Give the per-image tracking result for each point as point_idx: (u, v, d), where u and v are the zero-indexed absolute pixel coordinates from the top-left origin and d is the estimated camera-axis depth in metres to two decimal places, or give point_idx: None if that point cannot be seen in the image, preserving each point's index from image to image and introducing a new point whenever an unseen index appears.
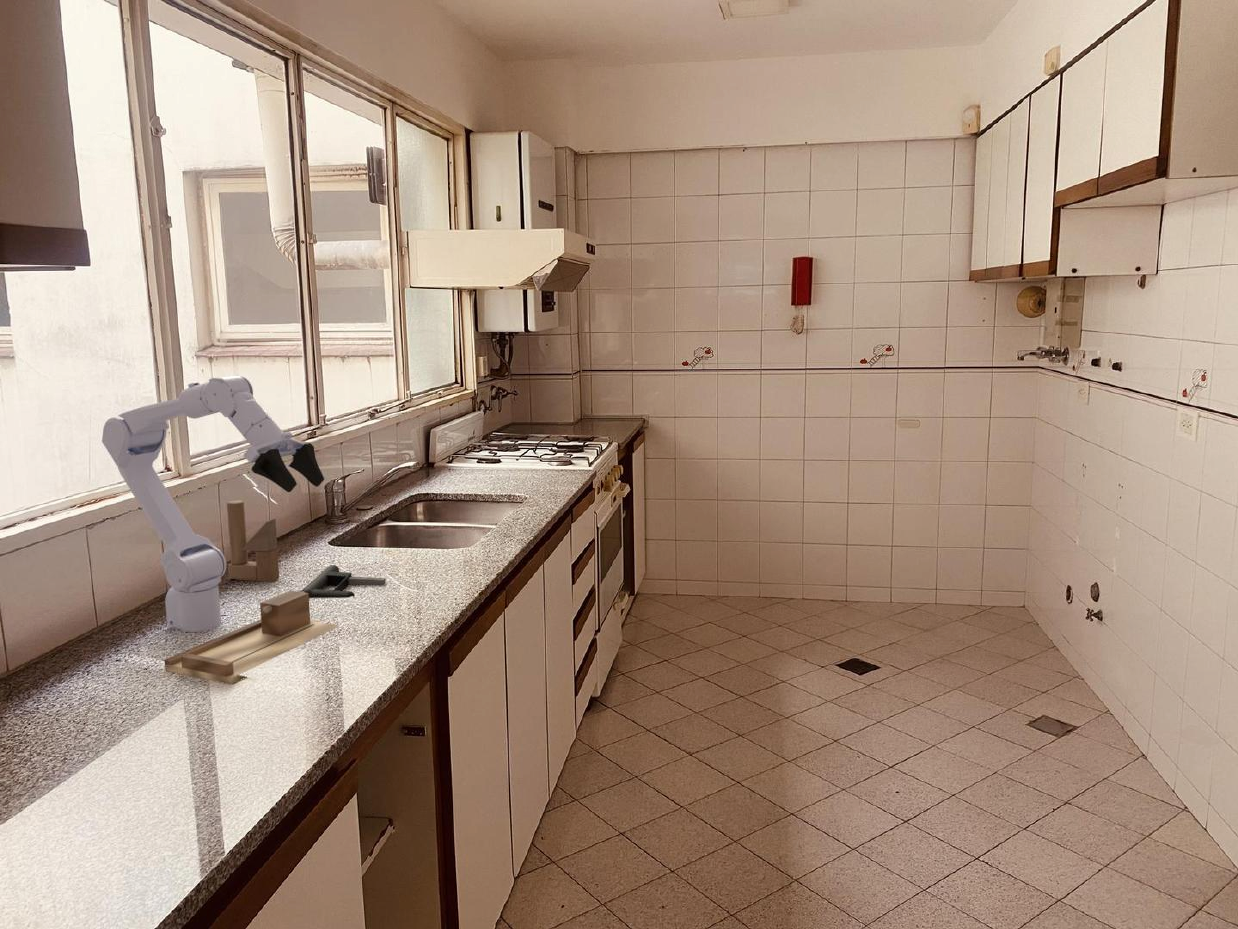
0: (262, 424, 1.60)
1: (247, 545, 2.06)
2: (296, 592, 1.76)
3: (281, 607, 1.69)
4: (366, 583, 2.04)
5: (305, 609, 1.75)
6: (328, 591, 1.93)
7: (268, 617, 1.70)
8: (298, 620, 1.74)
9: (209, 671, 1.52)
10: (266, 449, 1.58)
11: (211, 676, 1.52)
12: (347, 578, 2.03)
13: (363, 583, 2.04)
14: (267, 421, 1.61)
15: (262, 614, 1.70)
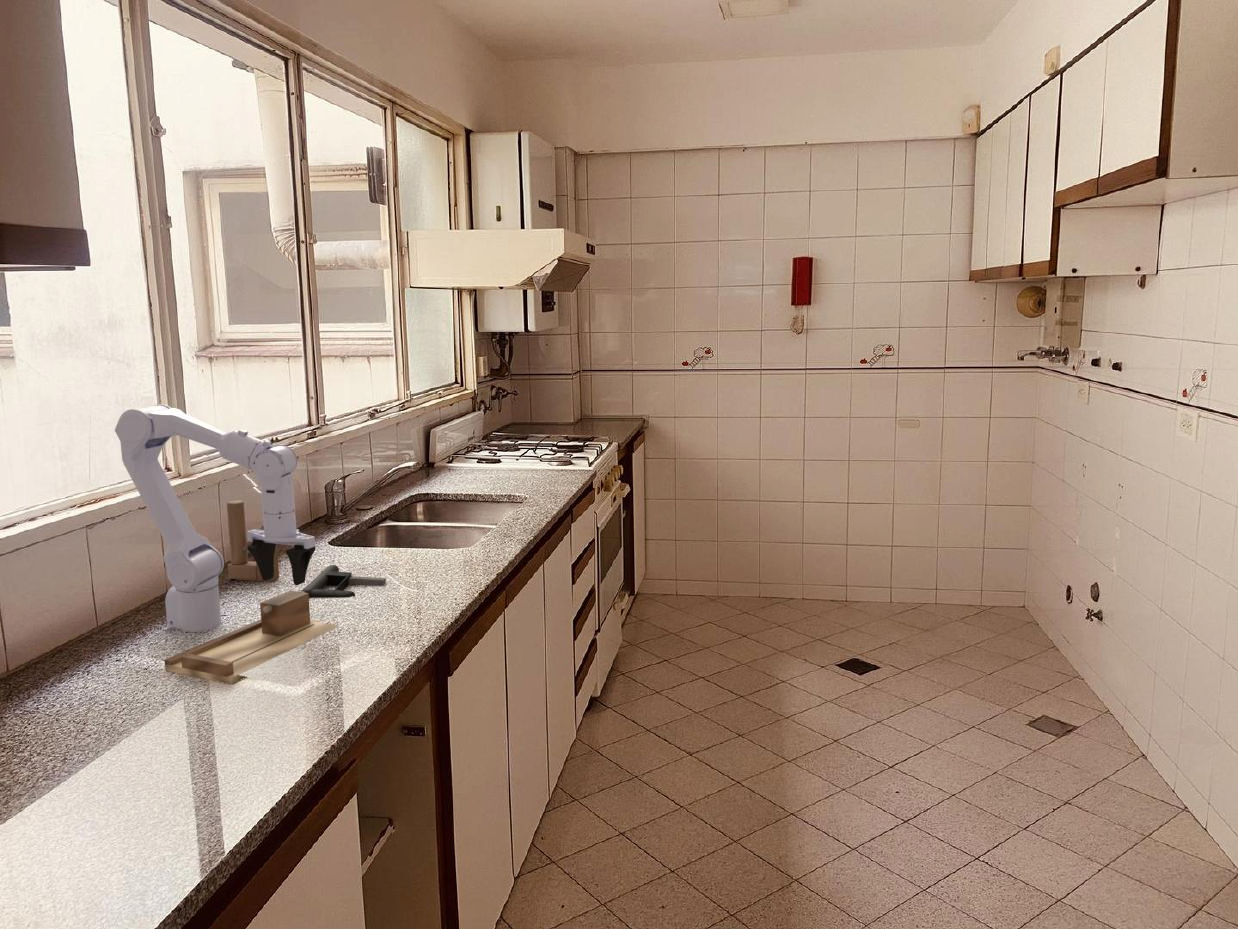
0: None
1: (247, 545, 2.06)
2: (296, 592, 1.76)
3: (281, 607, 1.69)
4: (366, 583, 2.04)
5: (305, 609, 1.75)
6: (329, 591, 1.93)
7: (268, 617, 1.70)
8: (298, 620, 1.74)
9: (209, 671, 1.52)
10: None
11: (211, 676, 1.52)
12: (347, 578, 2.03)
13: (363, 583, 2.04)
14: None
15: (262, 614, 1.70)
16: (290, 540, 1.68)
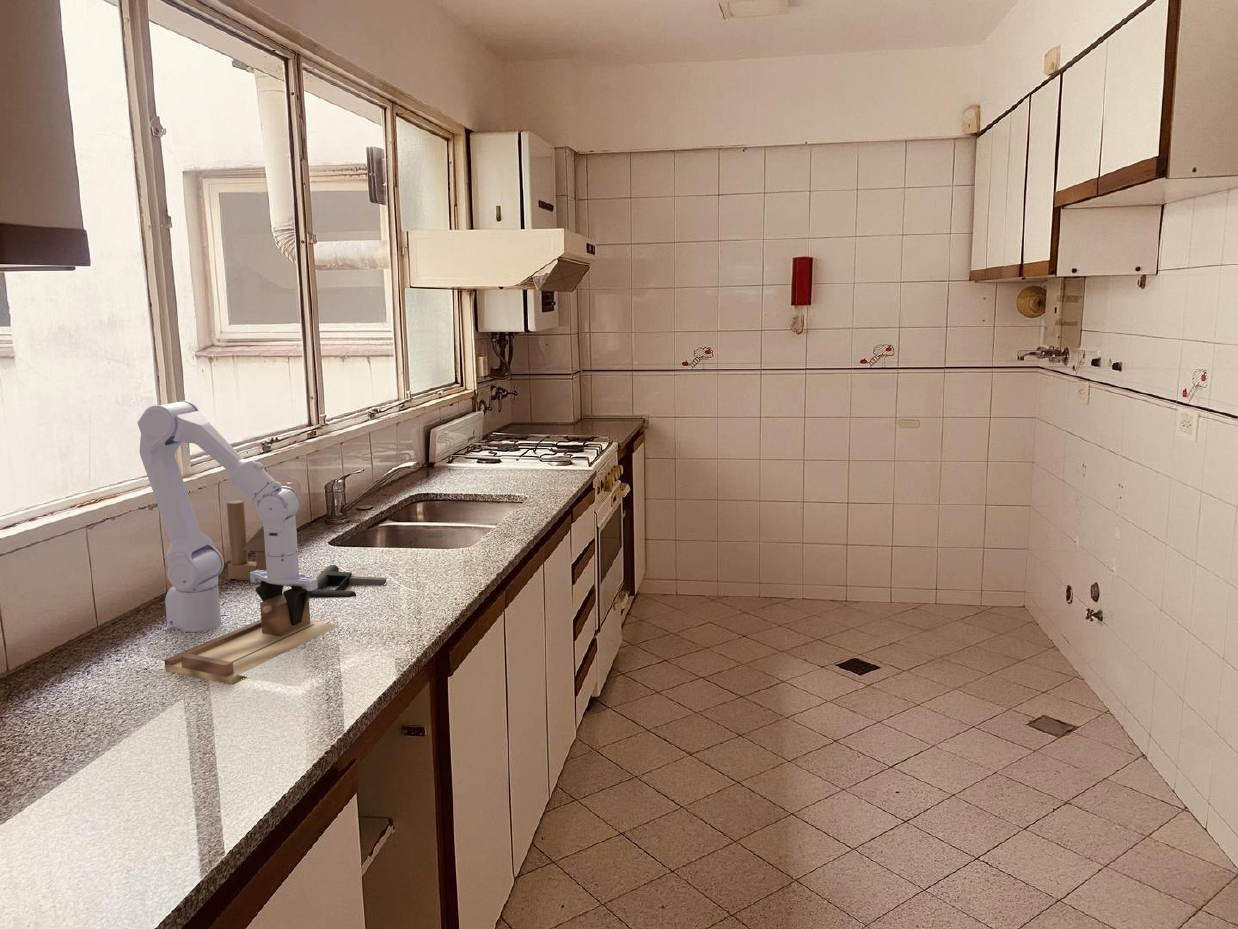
0: None
1: (247, 545, 2.06)
2: None
3: (281, 607, 1.69)
4: (367, 583, 2.04)
5: (305, 609, 1.75)
6: (330, 591, 1.93)
7: (268, 617, 1.70)
8: None
9: (209, 671, 1.52)
10: None
11: (211, 676, 1.52)
12: (348, 578, 2.03)
13: (364, 583, 2.04)
14: (295, 552, 1.74)
15: (262, 614, 1.70)
16: (293, 582, 1.69)
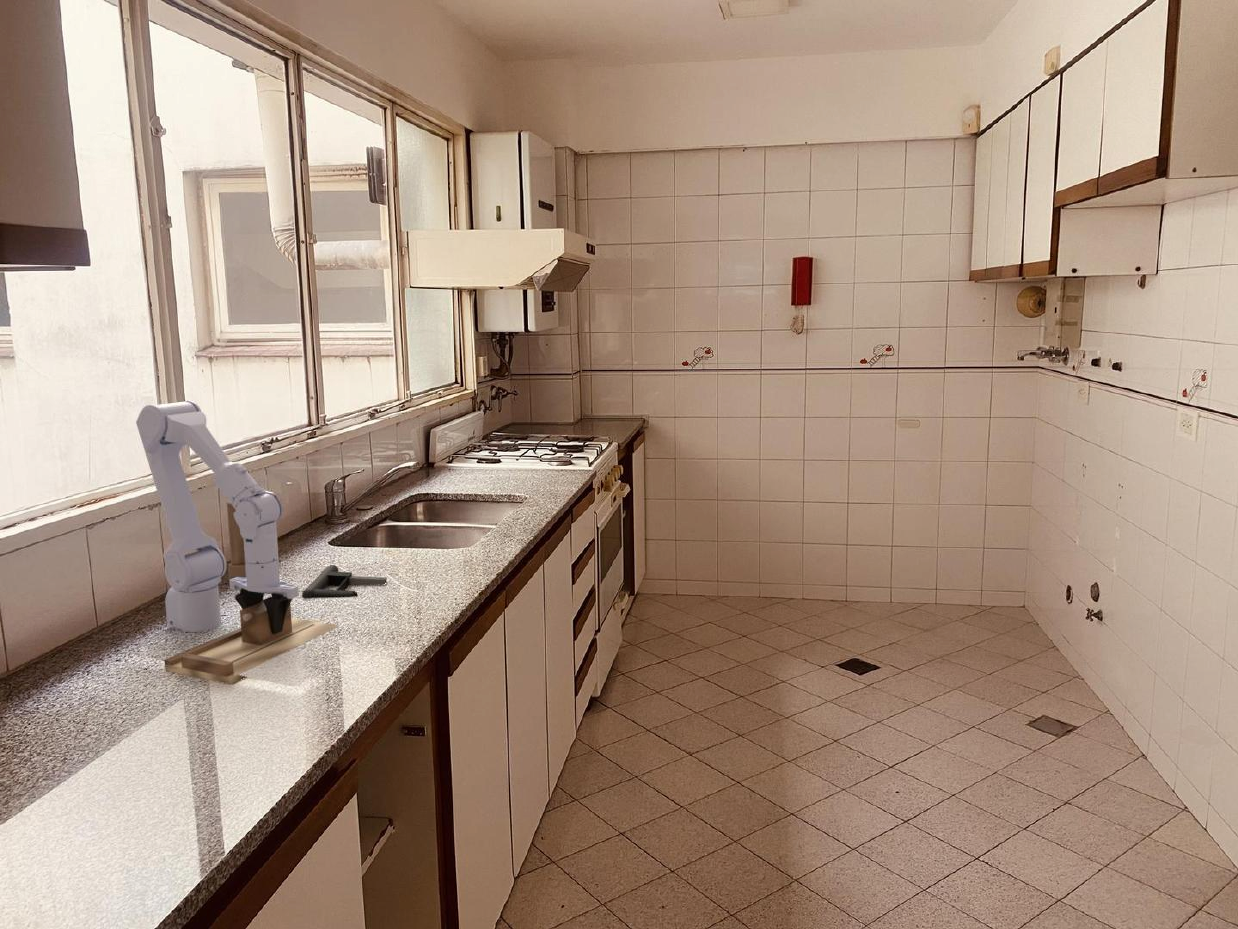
0: None
1: None
2: None
3: (261, 615, 1.65)
4: (367, 582, 2.05)
5: (287, 617, 1.71)
6: (331, 591, 1.93)
7: (248, 625, 1.65)
8: None
9: (209, 671, 1.52)
10: None
11: (211, 676, 1.52)
12: (348, 578, 2.03)
13: (364, 582, 2.05)
14: None
15: (242, 622, 1.66)
16: (273, 590, 1.65)
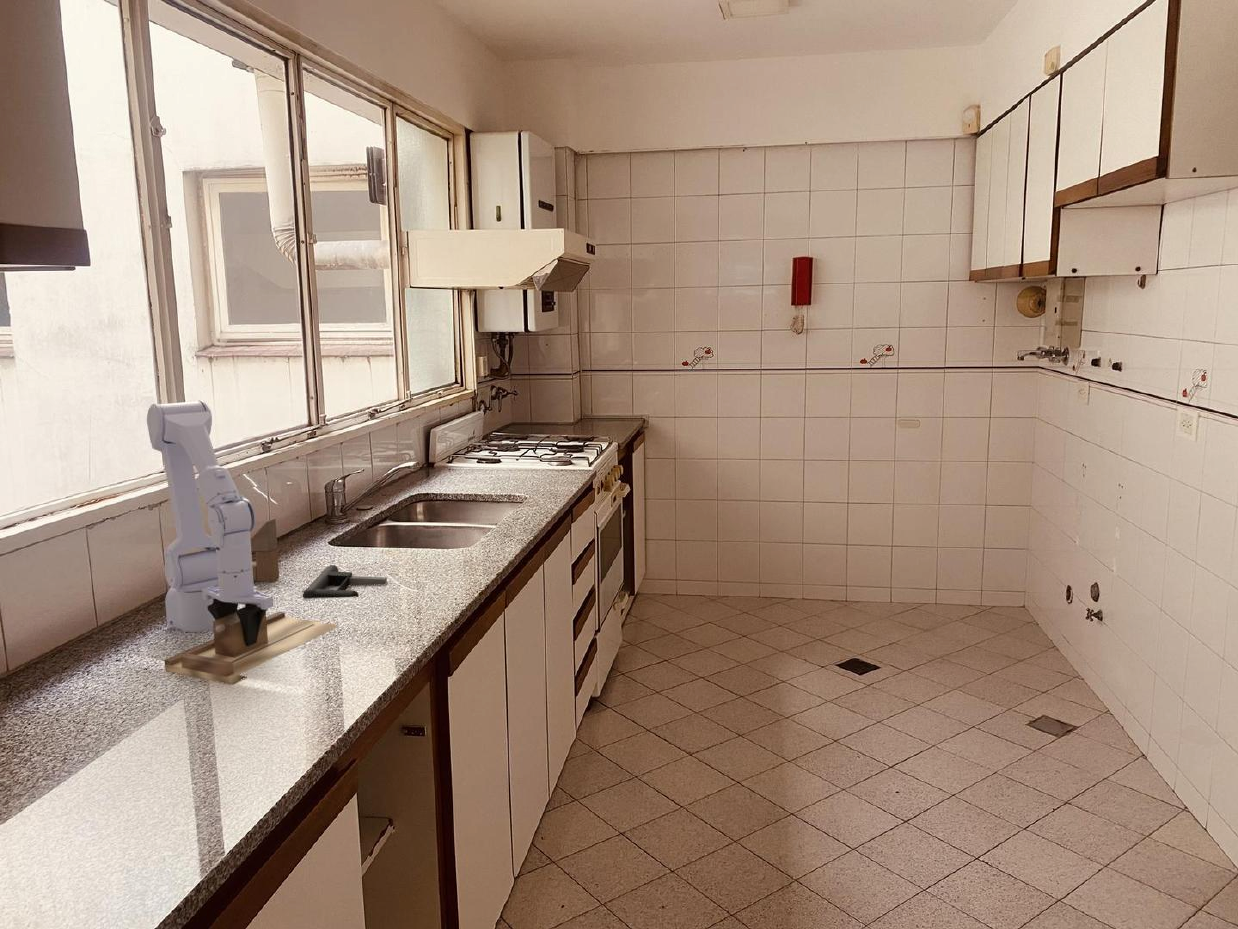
0: None
1: None
2: None
3: (234, 626, 1.59)
4: (367, 582, 2.05)
5: (262, 628, 1.65)
6: (332, 591, 1.93)
7: (222, 637, 1.60)
8: None
9: (209, 671, 1.52)
10: None
11: (211, 676, 1.52)
12: (348, 578, 2.03)
13: (364, 582, 2.05)
14: None
15: (215, 633, 1.60)
16: (246, 600, 1.59)
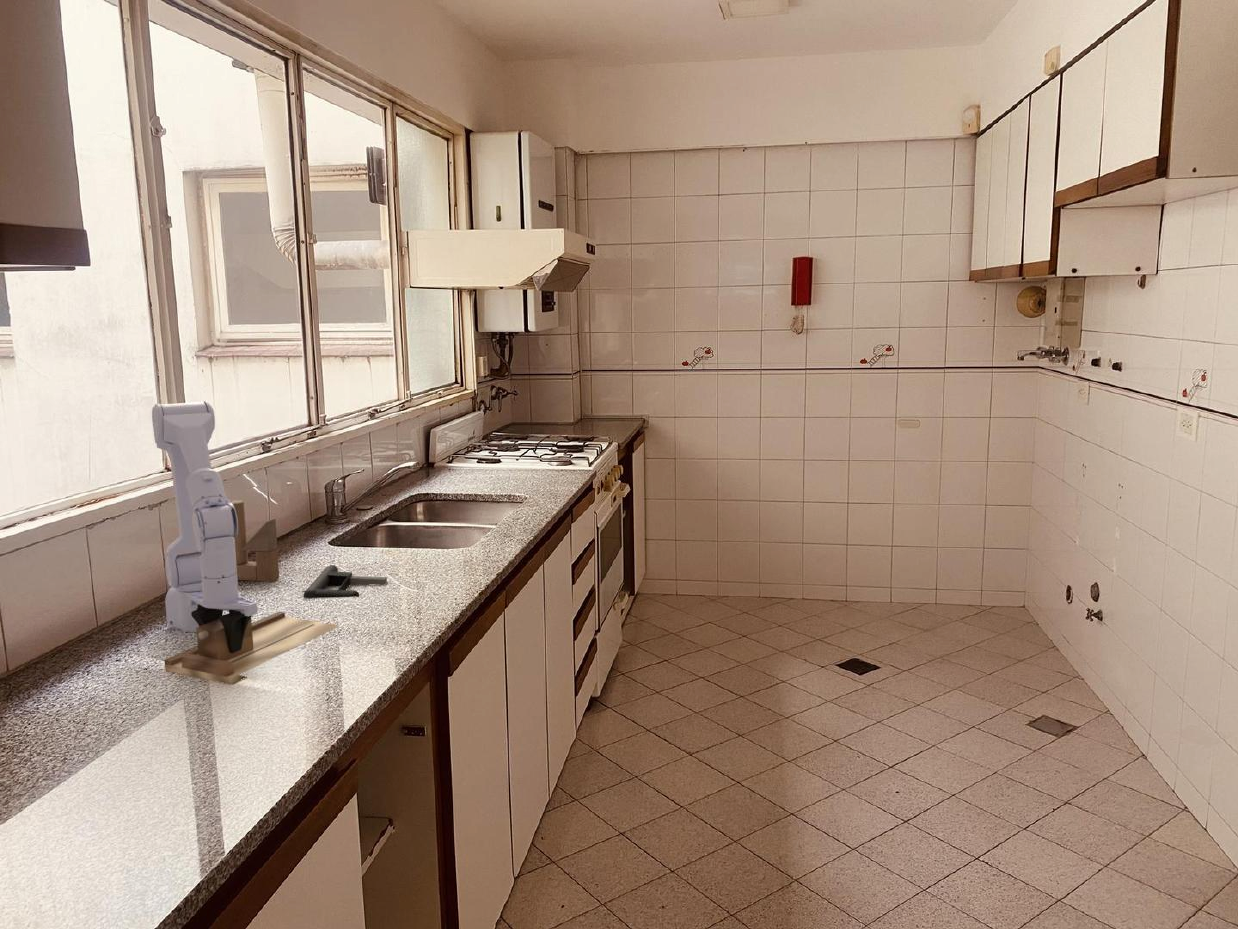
0: None
1: (247, 545, 2.06)
2: None
3: (218, 633, 1.56)
4: (367, 582, 2.05)
5: (247, 634, 1.62)
6: (333, 591, 1.93)
7: (205, 644, 1.57)
8: None
9: (209, 671, 1.52)
10: None
11: (211, 676, 1.52)
12: (349, 578, 2.04)
13: (365, 582, 2.05)
14: None
15: (199, 640, 1.57)
16: (230, 607, 1.55)
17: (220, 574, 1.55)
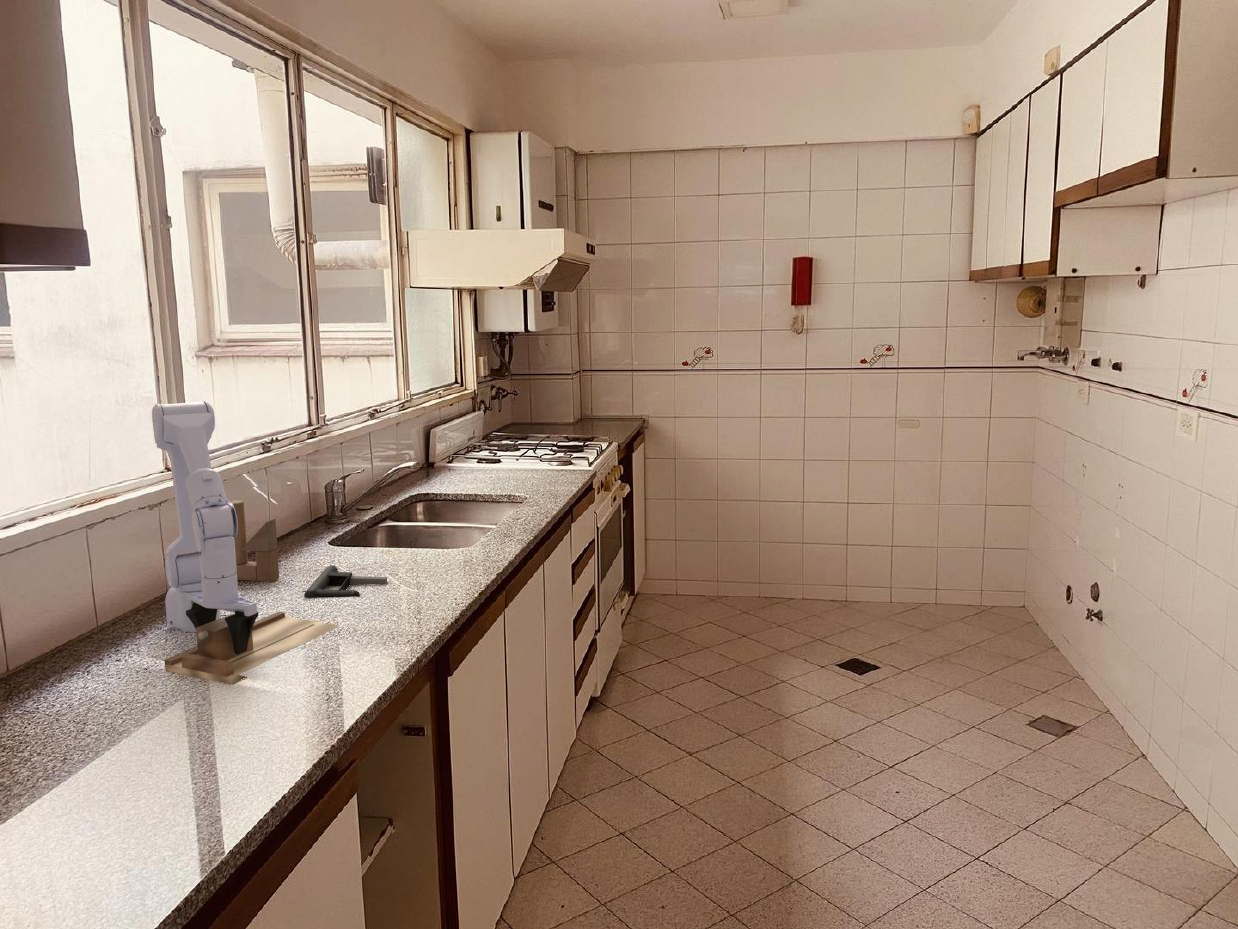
0: None
1: (247, 545, 2.06)
2: None
3: (218, 633, 1.56)
4: (368, 582, 2.05)
5: None
6: (334, 591, 1.93)
7: (205, 644, 1.56)
8: None
9: (209, 671, 1.52)
10: None
11: (211, 676, 1.52)
12: (349, 578, 2.04)
13: (365, 582, 2.05)
14: None
15: (198, 640, 1.57)
16: (230, 607, 1.55)
17: (220, 574, 1.55)
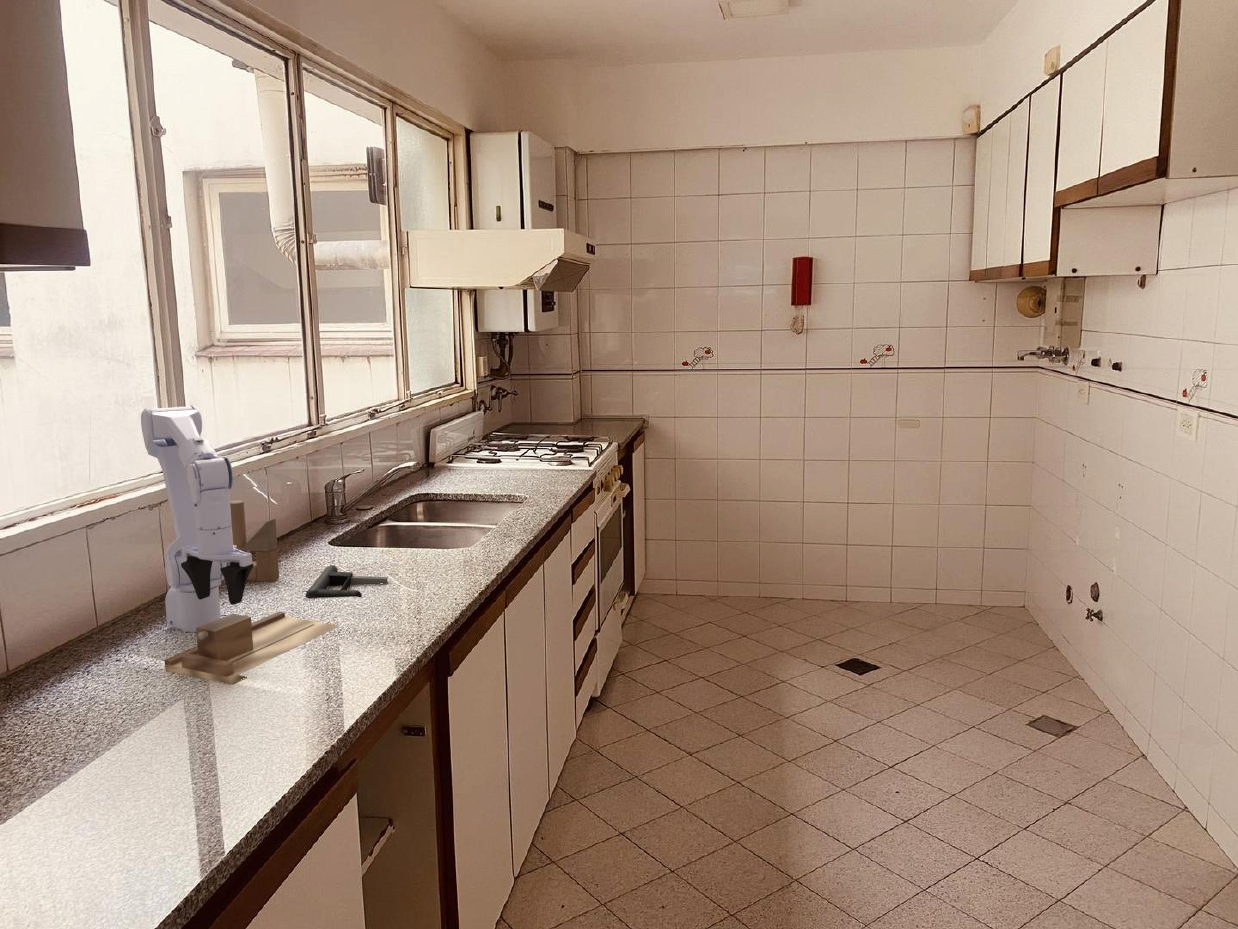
0: None
1: (247, 545, 2.06)
2: (238, 616, 1.63)
3: (218, 633, 1.56)
4: (368, 582, 2.05)
5: (247, 634, 1.62)
6: (335, 591, 1.93)
7: (205, 644, 1.56)
8: (239, 647, 1.60)
9: (209, 671, 1.52)
10: None
11: (211, 676, 1.52)
12: (349, 578, 2.04)
13: (365, 582, 2.05)
14: None
15: (198, 640, 1.57)
16: (225, 557, 1.58)
17: (216, 525, 1.58)
